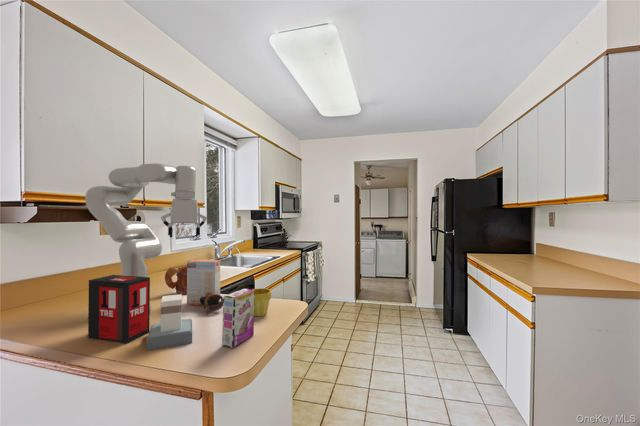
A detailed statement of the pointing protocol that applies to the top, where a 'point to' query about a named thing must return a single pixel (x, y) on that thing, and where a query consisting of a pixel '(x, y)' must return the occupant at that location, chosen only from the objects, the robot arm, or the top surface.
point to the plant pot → (261, 301)
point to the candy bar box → (238, 317)
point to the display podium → (169, 335)
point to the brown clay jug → (212, 302)
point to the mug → (181, 279)
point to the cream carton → (171, 312)
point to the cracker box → (202, 280)
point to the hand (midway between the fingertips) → (184, 237)
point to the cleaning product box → (118, 308)
